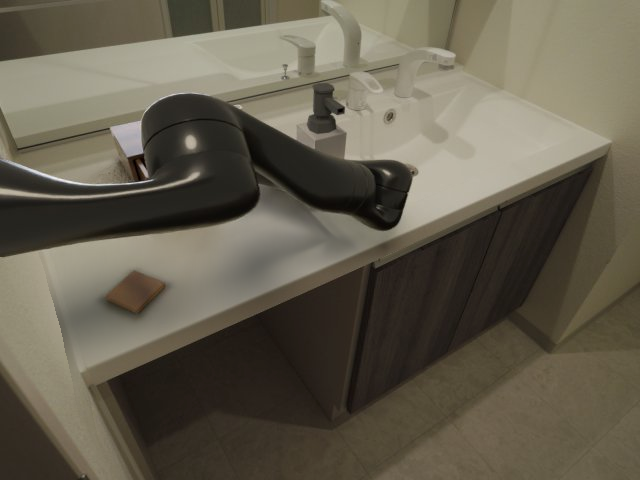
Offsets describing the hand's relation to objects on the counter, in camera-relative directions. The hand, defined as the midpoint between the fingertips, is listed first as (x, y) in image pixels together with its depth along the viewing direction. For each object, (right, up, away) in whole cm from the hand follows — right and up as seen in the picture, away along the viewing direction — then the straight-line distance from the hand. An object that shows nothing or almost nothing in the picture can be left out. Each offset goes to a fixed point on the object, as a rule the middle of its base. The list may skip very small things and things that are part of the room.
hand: (201, 142), depth 71 cm
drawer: (-8, -7, +10) cm, 15 cm away
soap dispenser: (+21, -8, +12) cm, 25 cm away
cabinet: (-15, -1, +18) cm, 23 cm away
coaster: (-7, -25, -8) cm, 27 cm away
